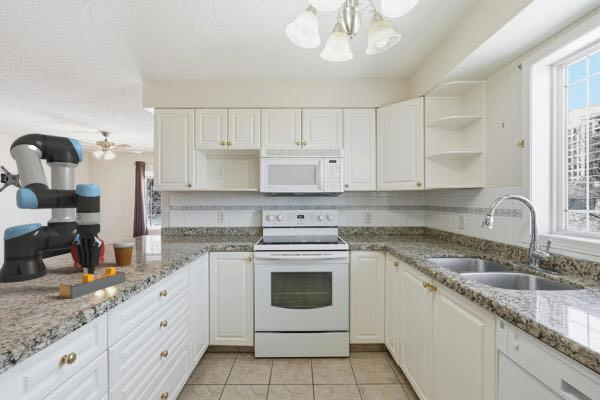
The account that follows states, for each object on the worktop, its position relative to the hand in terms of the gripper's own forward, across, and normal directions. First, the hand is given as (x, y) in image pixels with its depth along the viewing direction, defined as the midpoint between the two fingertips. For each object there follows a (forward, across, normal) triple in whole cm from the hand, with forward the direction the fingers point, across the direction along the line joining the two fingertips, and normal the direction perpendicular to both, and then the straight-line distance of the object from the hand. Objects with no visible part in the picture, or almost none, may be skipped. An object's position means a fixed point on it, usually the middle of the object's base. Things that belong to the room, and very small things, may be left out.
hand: (88, 283), depth 106 cm
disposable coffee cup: (+2, -19, +31) cm, 37 cm away
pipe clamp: (+2, +3, +1) cm, 4 cm away
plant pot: (-1, -23, +16) cm, 28 cm away
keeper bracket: (+2, +4, 0) cm, 5 cm away
